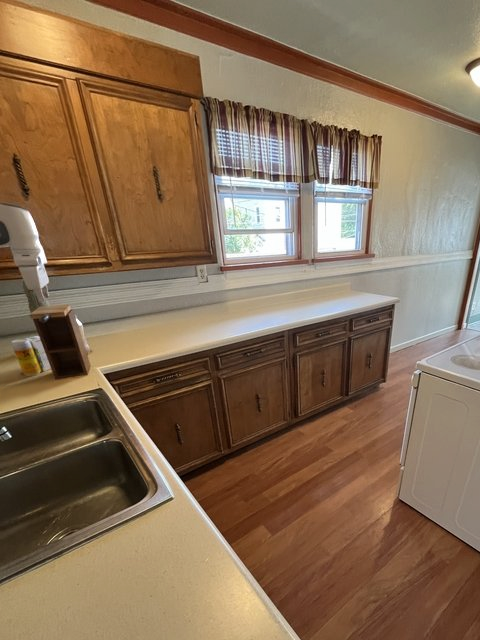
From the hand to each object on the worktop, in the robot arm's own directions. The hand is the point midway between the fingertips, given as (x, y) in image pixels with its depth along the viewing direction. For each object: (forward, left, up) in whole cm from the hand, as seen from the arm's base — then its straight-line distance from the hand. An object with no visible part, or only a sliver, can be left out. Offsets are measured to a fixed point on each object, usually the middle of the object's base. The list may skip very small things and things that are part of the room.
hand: (44, 299), depth 119 cm
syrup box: (+3, +27, -34) cm, 43 cm away
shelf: (+3, +6, -7) cm, 10 cm away
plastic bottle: (+23, +32, -34) cm, 52 cm away
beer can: (-3, +25, -34) cm, 42 cm away
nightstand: (+7, +12, -33) cm, 36 cm away
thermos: (+20, +54, -34) cm, 67 cm away
